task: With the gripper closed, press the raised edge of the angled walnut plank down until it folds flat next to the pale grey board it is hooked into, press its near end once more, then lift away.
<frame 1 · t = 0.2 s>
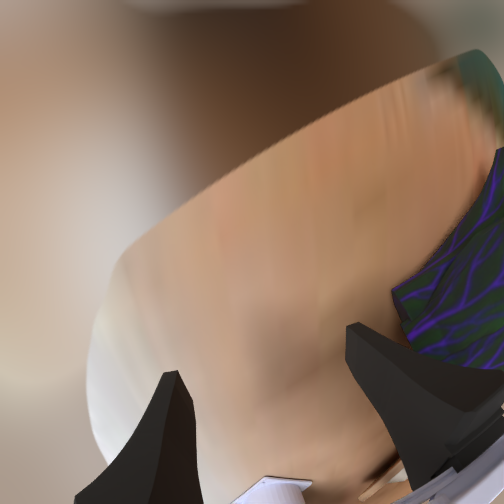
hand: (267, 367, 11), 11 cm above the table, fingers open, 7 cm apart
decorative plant: (464, 260, 25), on the table
plank: (391, 472, 28), point 3 cm above the table, hinge at 28.0°
laid board: (409, 460, 33), on the table
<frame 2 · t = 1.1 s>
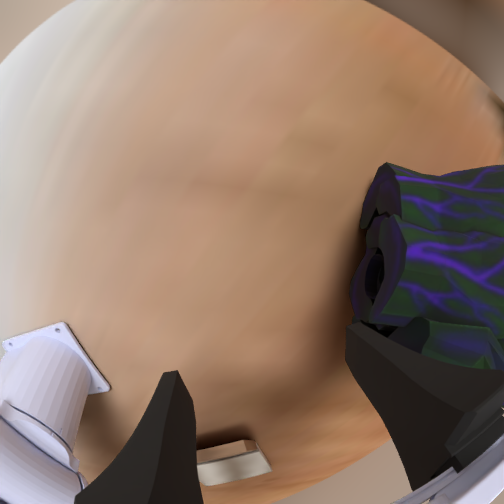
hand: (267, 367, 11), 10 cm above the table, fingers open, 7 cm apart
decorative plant: (436, 250, 24), on the table
plank: (206, 455, 24), point 3 cm above the table, hinge at 28.0°
laid board: (228, 464, 30), on the table
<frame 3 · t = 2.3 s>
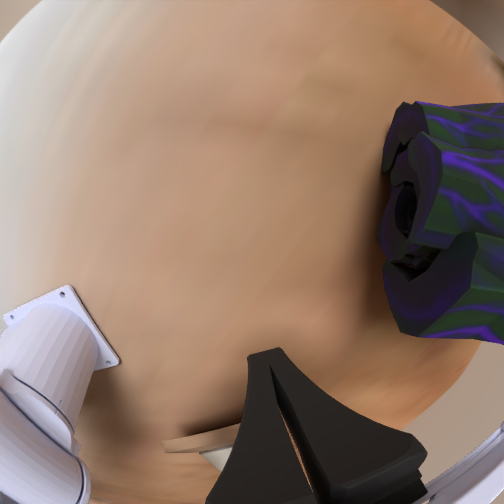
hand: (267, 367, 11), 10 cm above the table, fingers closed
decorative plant: (457, 205, 22), on the table
plank: (226, 437, 23), point 3 cm above the table, hinge at 28.0°
laid board: (248, 449, 29), on the table
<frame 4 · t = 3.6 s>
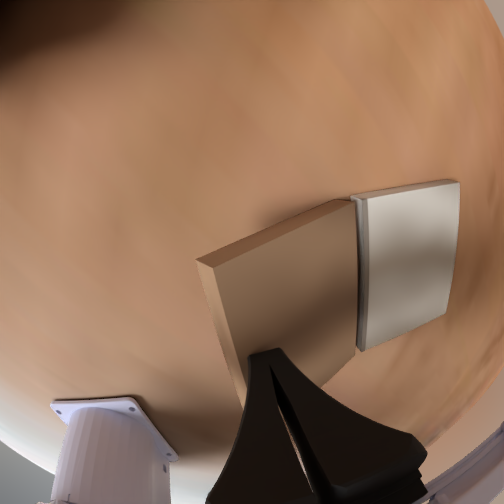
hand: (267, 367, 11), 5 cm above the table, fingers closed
plank: (301, 324, 13), point 3 cm above the table, hinge at 28.0°
laid board: (405, 262, 17), on the table
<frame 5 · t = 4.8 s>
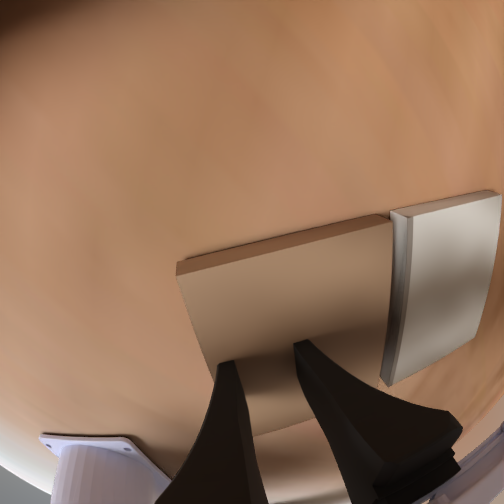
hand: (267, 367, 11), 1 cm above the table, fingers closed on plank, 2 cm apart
plank: (303, 348, 12), point 1 cm above the table, hinge at 1.7°, touching gripper
laid board: (441, 285, 13), on the table
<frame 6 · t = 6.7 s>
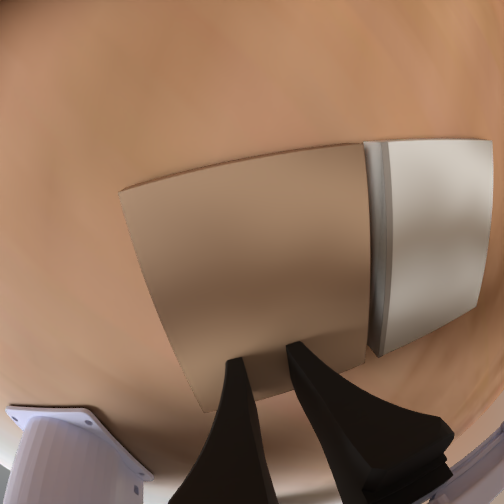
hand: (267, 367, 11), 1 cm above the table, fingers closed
plank: (269, 296, 11), point 1 cm above the table, hinge at 1.7°, touching gripper
laid board: (433, 239, 12), on the table
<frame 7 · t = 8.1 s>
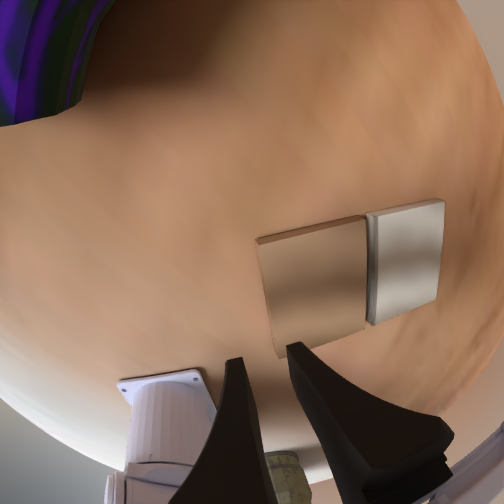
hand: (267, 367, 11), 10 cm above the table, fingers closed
plank: (318, 291, 21), point 1 cm above the table, hinge at 1.7°
thermos: (268, 463, 32), on the table
laid board: (403, 259, 23), on the table
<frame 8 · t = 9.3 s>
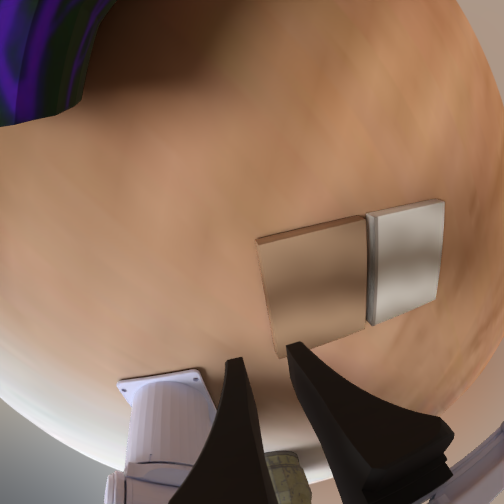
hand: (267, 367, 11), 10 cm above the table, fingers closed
plank: (318, 291, 21), point 1 cm above the table, hinge at 1.7°
thermos: (268, 463, 32), on the table
laid board: (403, 259, 23), on the table
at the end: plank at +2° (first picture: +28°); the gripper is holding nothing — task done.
